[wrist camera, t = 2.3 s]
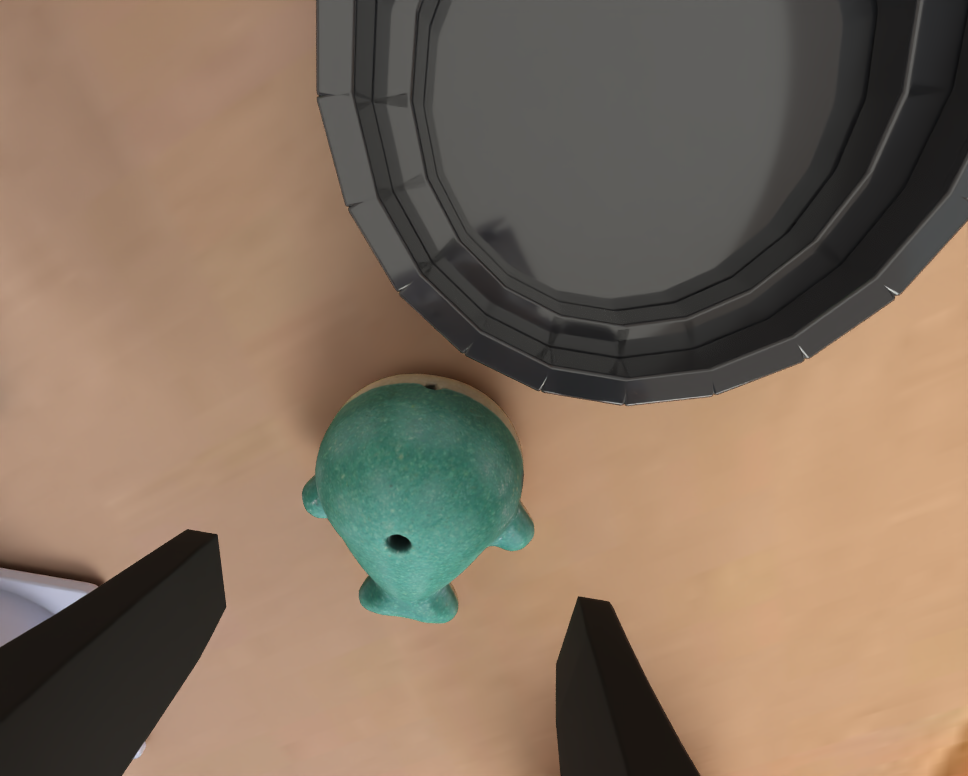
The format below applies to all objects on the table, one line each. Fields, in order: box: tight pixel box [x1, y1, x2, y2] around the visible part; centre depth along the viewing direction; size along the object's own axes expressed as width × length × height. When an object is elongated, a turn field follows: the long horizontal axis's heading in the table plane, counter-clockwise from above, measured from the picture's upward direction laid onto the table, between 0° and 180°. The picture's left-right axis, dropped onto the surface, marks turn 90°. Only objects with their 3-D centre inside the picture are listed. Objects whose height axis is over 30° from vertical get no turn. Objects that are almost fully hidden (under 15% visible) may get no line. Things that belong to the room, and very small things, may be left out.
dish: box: [316, 0, 968, 406], centre depth 8 cm, size 10×10×2 cm
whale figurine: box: [302, 374, 534, 623], centre depth 12 cm, size 6×7×4 cm
